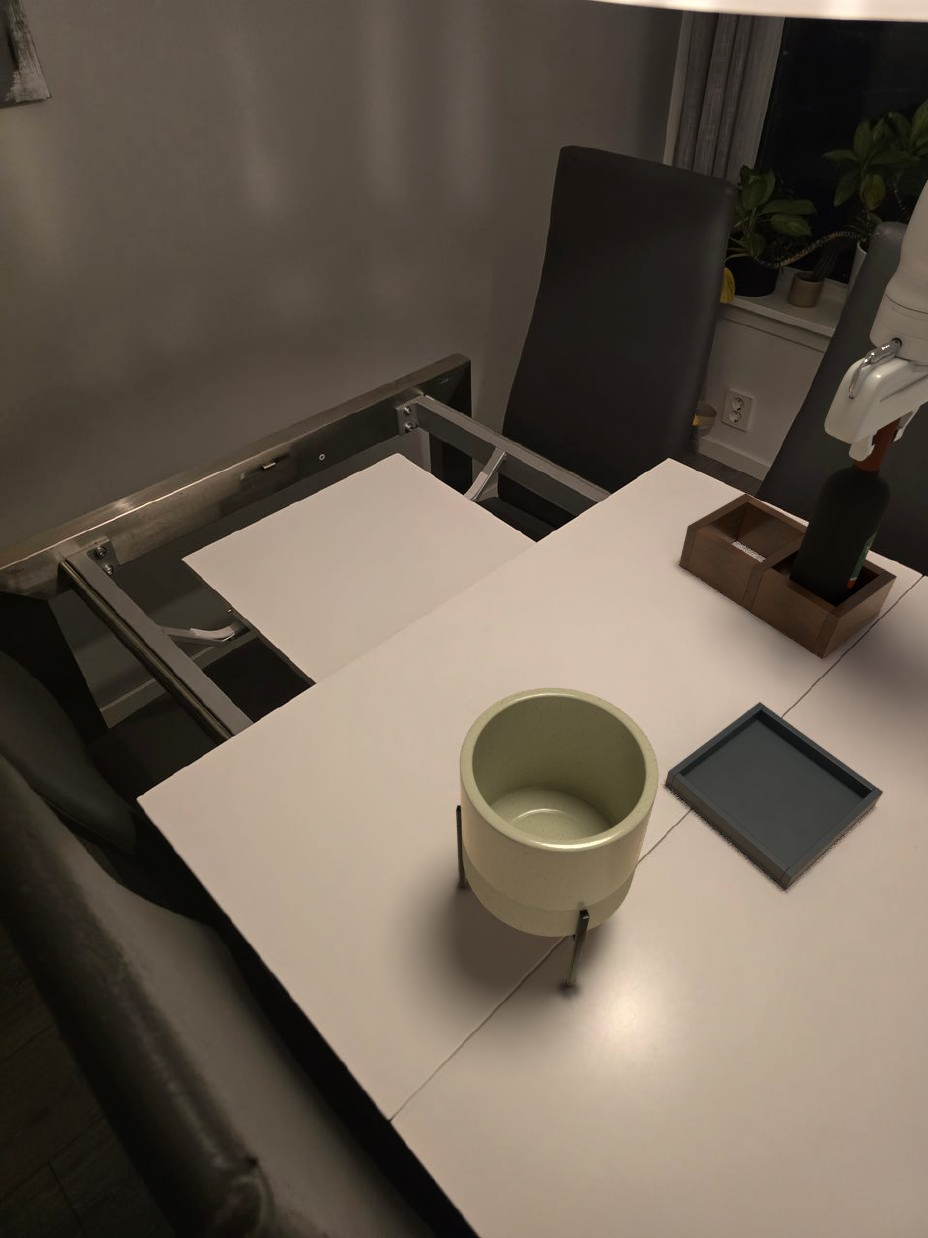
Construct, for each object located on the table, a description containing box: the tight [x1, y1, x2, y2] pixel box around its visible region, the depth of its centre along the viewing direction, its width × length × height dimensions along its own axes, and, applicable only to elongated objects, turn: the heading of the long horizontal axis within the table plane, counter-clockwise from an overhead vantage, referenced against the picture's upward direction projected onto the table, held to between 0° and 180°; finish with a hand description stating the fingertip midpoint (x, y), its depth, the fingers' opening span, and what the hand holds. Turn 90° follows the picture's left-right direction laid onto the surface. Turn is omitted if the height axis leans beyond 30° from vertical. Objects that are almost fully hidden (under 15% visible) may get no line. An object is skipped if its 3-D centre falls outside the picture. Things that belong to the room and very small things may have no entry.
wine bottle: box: [789, 416, 902, 607], centre depth 94 cm, size 8×8×30 cm
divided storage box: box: [678, 492, 898, 659], centre depth 106 cm, size 24×12×7 cm, turn 38°
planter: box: [455, 687, 660, 988], centre depth 68 cm, size 15×16×23 cm
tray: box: [664, 701, 884, 890], centre depth 84 cm, size 16×16×2 cm
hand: (874, 447), depth 87 cm, fingers open, 5 cm apart
